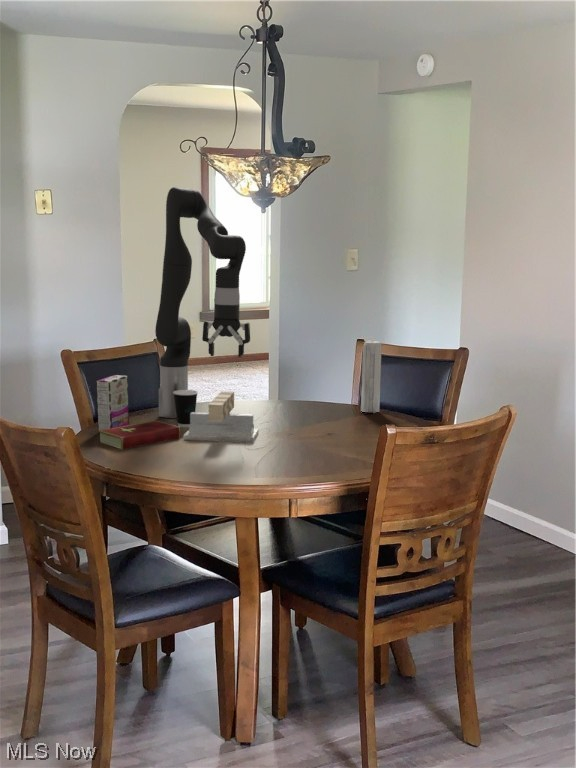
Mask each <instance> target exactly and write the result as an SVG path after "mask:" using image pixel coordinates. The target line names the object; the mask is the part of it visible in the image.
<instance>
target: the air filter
mask: <svg viewBox="0 0 576 768" xmlns="http://www.w3.org/2000/svg"><path fill="white" fill-rule="evenodd" d="M361 363H362V364H361V393H360V395H361V396H360V397H361V398H360V412H361V411H362V412H373V413H375V412H379V413H380V399H381V398H380V397H381V375H382V374H381V373H382V343H381V341H378V340H377V341H374V340H366V341H364V343H363V344H362V362H361ZM362 412H361V413H362Z"/></svg>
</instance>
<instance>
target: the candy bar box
mask: <svg viewBox="0 0 576 768" xmlns="http://www.w3.org/2000/svg"><path fill="white" fill-rule="evenodd" d="M128 380H129V379H128V375H123V374H121V375H119V374H114V375H111V376H107V377H105V378H102V379H98V380H96V402H97V421H98V422H97V423H98V426H97V427H98V429H97V430H98V431H99V430H105V429H110V428H116V427H122V426H127V425H130V415H129V411H130V410H129V382H128Z"/></svg>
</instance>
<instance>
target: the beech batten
mask: <svg viewBox="0 0 576 768" xmlns="http://www.w3.org/2000/svg"><path fill="white" fill-rule="evenodd" d="M234 408H235V391H225V390H224V391H223V390H222V391H220V392H219V393H218V394H217V395H216V396H215V397H214V399H213V400H212V401H210V402H209V404H208V413H209V422H223V420H224V419H225V418H226V417H227V415H228V414H231V412H232V411H233V409H234Z"/></svg>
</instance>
